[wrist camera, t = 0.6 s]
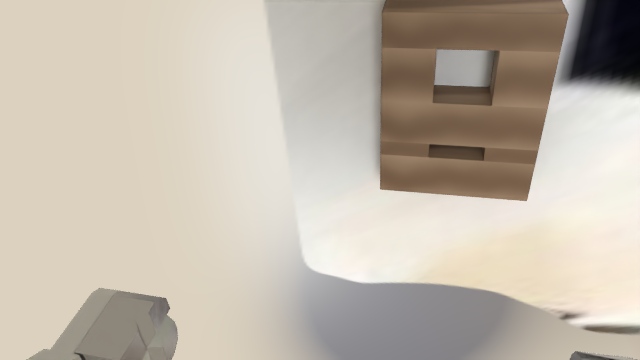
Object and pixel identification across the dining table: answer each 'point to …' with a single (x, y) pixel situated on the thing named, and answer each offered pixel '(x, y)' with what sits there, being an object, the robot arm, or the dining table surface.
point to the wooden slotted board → (466, 95)
